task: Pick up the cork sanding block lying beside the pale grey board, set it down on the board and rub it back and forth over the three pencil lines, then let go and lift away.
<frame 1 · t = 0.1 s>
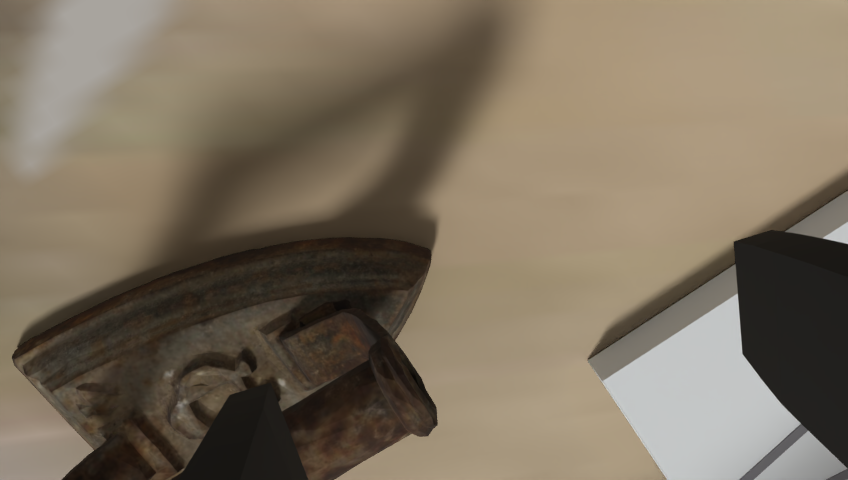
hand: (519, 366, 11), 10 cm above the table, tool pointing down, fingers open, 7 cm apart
clothes iron: (262, 339, 22), on the table
board: (820, 454, 27), on the table
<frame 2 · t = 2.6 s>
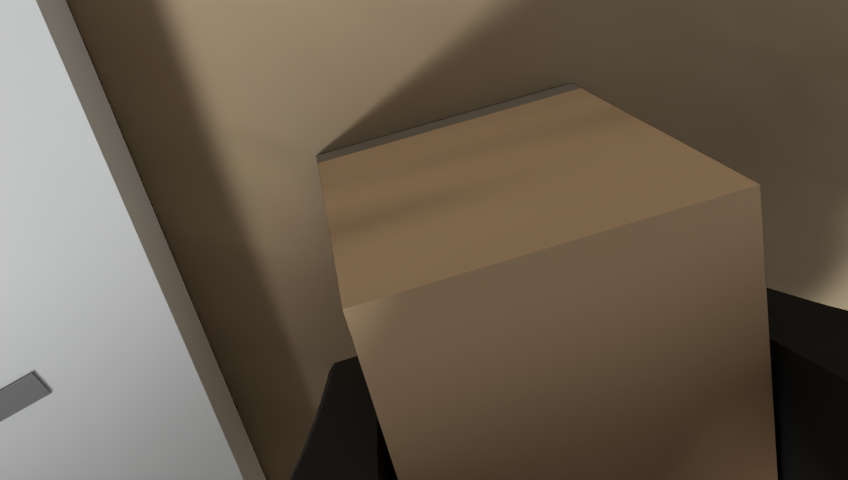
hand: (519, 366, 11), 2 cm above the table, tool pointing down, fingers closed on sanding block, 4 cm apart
sanding block: (491, 315, 13), on the table, touching gripper
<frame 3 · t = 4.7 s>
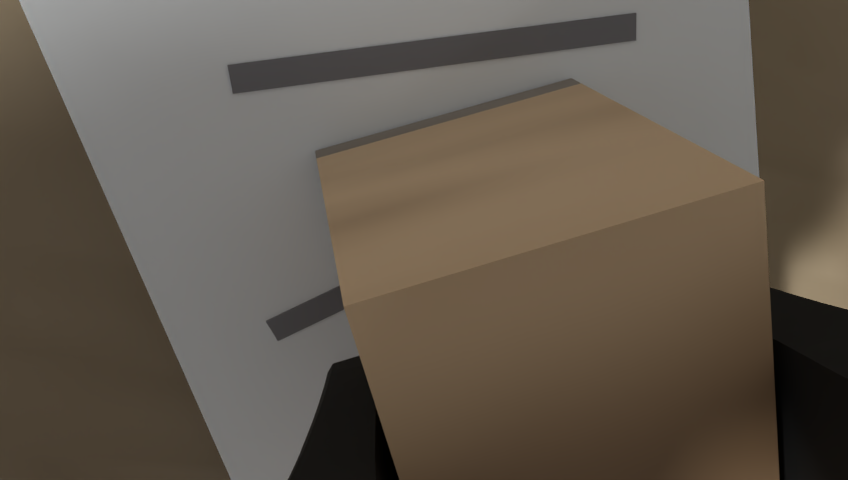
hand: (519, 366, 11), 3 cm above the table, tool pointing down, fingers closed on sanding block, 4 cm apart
sanding block: (490, 312, 13), point 1 cm above the table, touching board, gripper
board: (412, 44, 12), on the table
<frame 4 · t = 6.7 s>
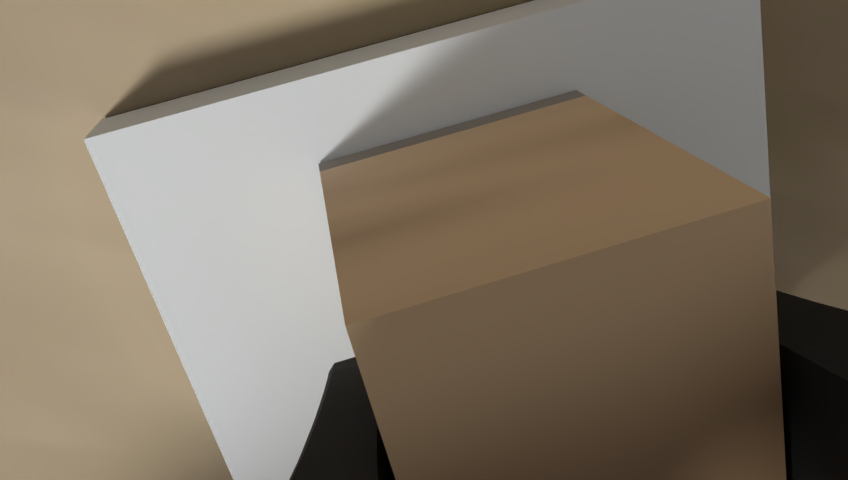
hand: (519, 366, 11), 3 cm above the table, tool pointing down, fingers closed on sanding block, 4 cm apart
sanding block: (494, 324, 13), point 1 cm above the table, touching gripper
board: (520, 470, 16), on the table
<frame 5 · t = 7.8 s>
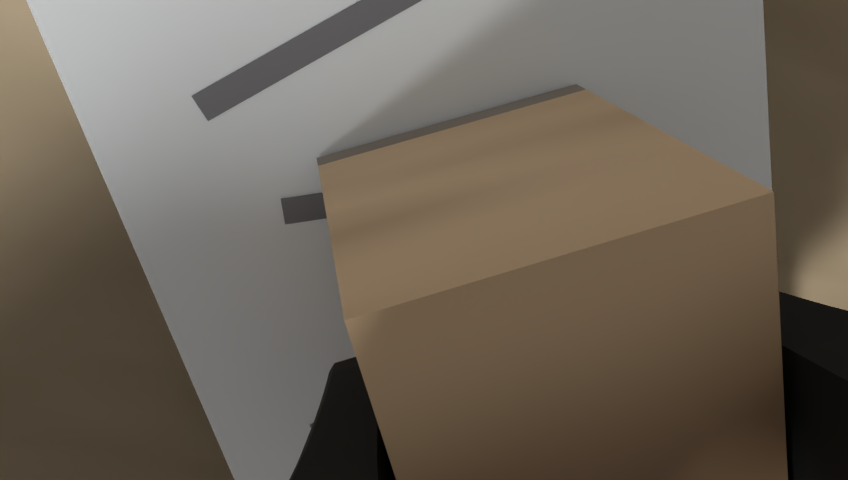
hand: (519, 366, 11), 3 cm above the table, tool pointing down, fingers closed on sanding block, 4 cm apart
sanding block: (494, 320, 13), point 1 cm above the table, touching gripper
board: (450, 163, 13), on the table
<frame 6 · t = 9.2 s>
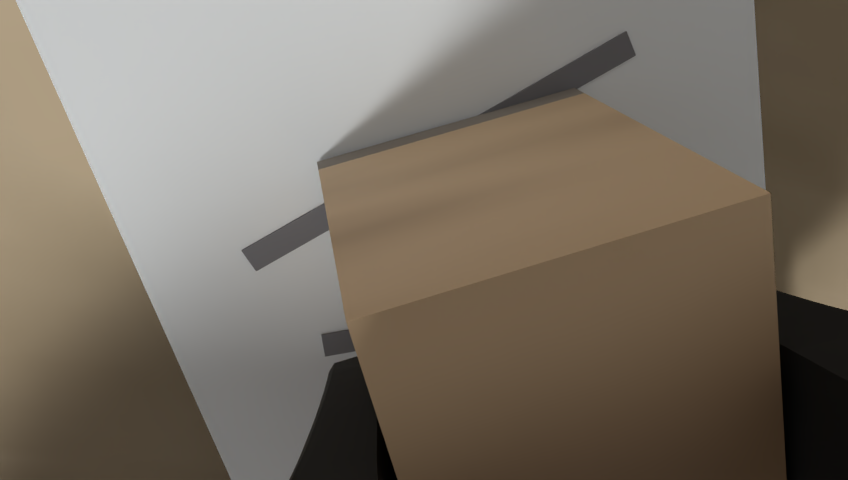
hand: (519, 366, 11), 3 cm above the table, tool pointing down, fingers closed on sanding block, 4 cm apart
sanding block: (493, 322, 13), point 1 cm above the table, touching gripper
board: (473, 285, 14), on the table
when the fingers open (3 cm above the table, at t = 10.9 s): sanding block stays where it is, resting on board.
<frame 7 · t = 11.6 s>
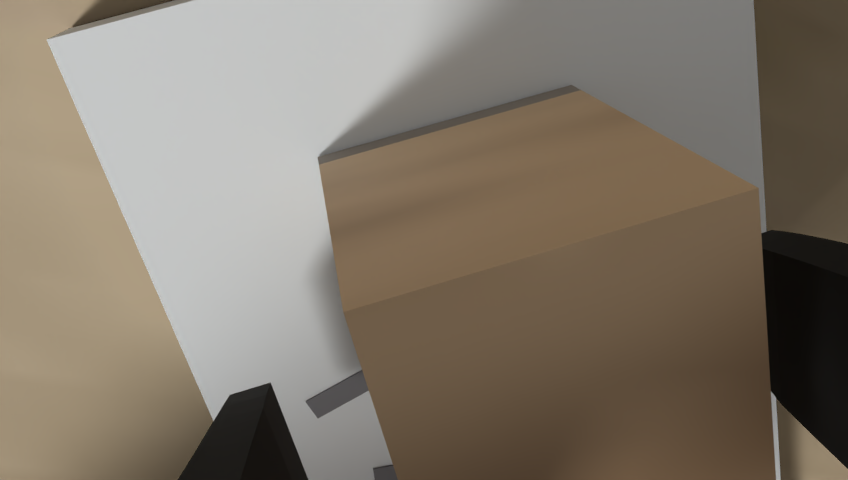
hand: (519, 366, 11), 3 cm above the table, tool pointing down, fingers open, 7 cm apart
sanding block: (491, 316, 13), point 1 cm above the table, touching board
board: (506, 411, 15), on the table
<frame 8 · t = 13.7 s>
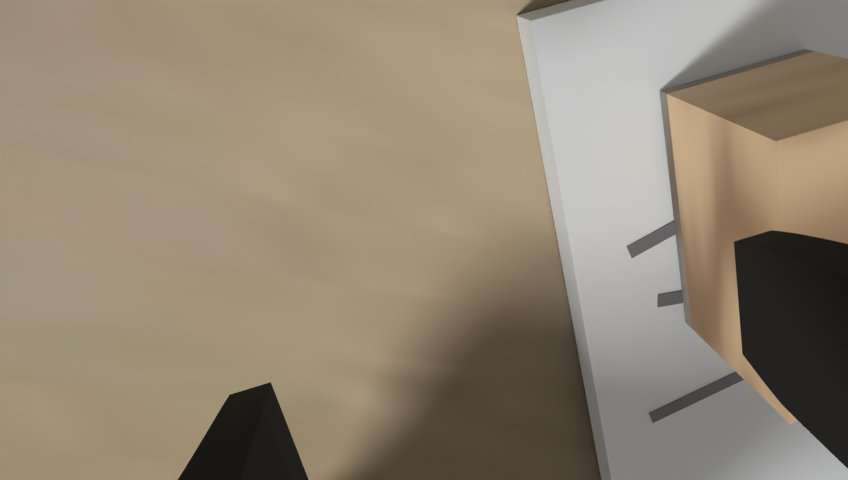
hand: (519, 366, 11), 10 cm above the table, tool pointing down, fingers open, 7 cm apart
sanding block: (741, 194, 21), point 1 cm above the table, touching board
board: (726, 268, 23), on the table
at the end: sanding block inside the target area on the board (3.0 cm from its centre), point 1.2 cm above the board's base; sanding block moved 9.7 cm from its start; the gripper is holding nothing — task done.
